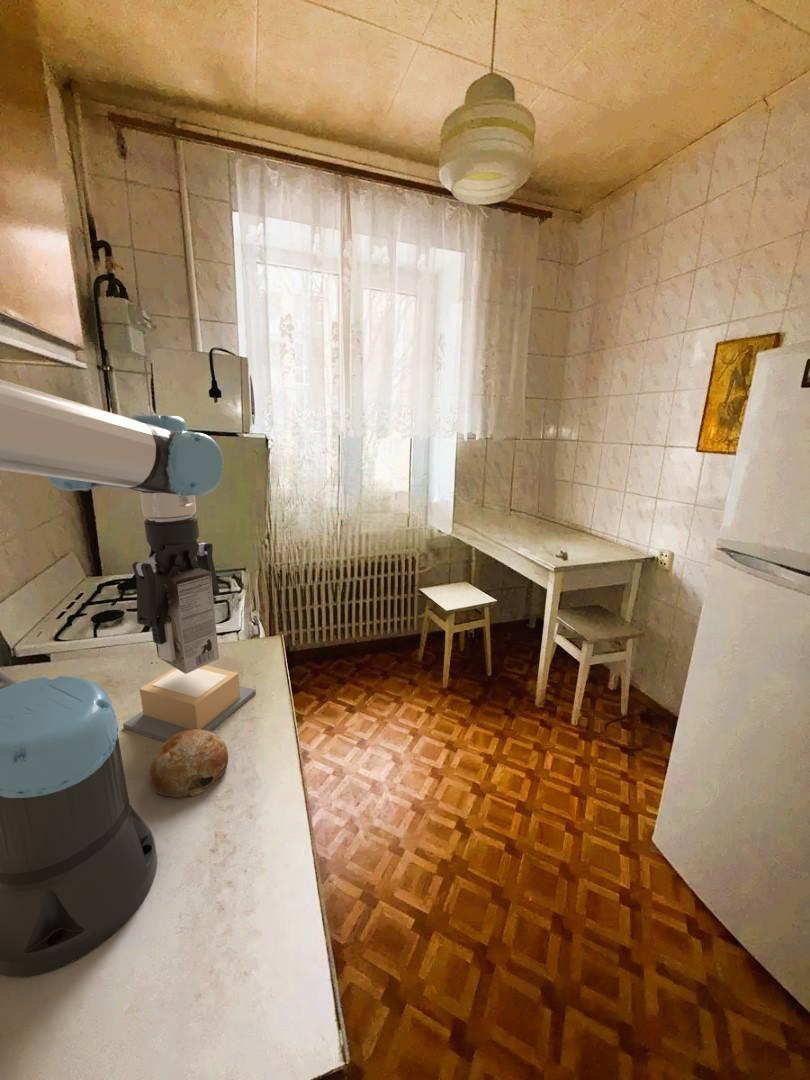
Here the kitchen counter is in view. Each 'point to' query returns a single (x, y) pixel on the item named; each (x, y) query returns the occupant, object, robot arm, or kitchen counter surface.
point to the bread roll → (188, 763)
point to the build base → (188, 702)
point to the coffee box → (191, 618)
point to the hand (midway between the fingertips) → (187, 647)
